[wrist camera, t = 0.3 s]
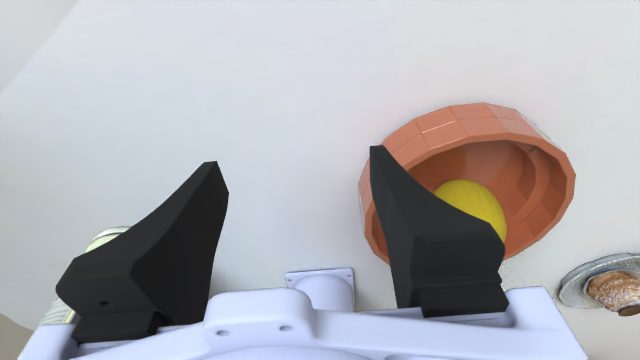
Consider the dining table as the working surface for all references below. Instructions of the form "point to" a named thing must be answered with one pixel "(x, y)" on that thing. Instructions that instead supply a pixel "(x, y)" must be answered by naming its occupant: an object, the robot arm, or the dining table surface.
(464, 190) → the lemon
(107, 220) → the dining table surface
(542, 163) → the bowl
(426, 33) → the dining table surface
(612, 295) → the pastry
